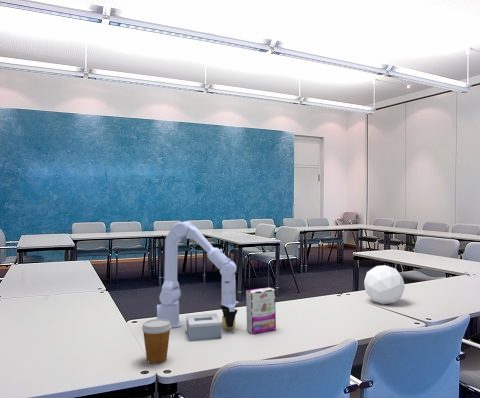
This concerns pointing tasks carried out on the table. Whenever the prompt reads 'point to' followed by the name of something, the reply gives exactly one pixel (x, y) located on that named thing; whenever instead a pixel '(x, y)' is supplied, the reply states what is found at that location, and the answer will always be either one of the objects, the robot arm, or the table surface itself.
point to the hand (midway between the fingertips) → (228, 324)
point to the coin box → (203, 327)
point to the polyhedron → (384, 284)
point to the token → (224, 324)
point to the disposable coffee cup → (156, 339)
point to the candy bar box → (260, 310)
